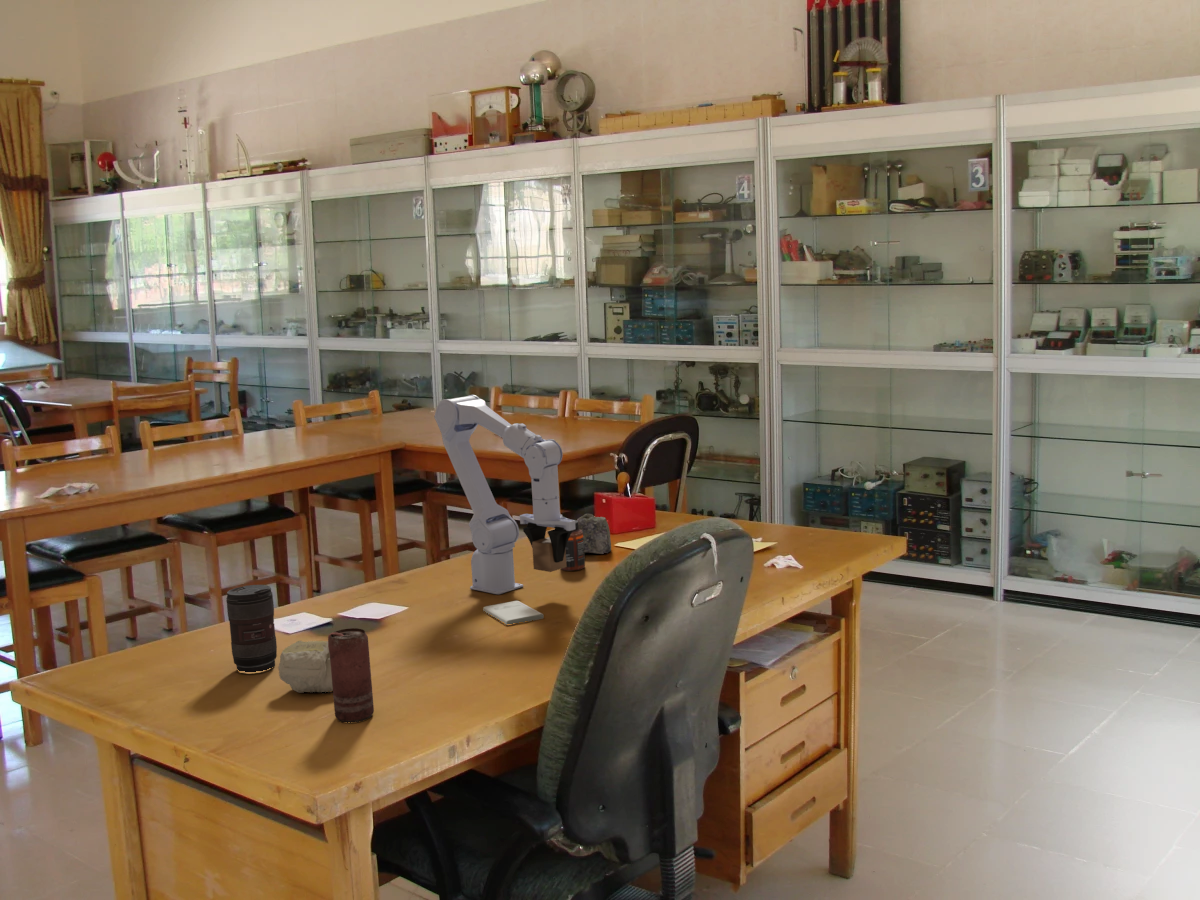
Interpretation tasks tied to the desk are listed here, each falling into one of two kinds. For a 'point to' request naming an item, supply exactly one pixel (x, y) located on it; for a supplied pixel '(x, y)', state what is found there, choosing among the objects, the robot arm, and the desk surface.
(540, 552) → the walnut block
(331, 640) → the can
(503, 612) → the external hard drive
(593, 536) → the mineral rock
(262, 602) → the camera lens
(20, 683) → the desk surface
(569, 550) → the supplement bottle
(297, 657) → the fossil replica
